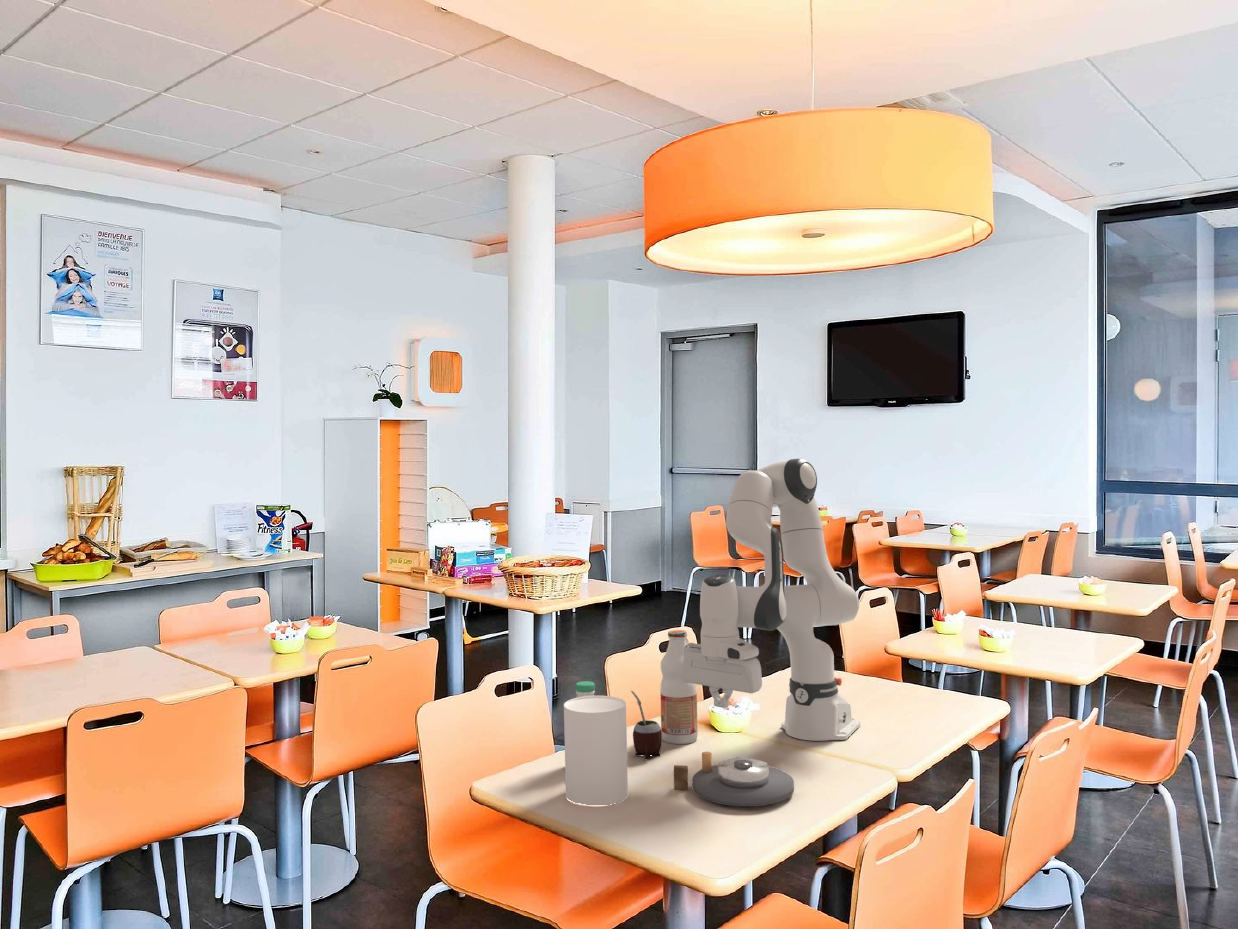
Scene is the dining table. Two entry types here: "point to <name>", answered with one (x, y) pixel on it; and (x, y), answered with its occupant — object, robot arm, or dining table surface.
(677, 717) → the fruit juice
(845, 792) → the dining table surface
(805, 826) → the dining table surface
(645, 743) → the mate gourd
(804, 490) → the robot arm
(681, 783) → the brown wooden block
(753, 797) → the turntable
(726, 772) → the cover
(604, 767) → the canister
